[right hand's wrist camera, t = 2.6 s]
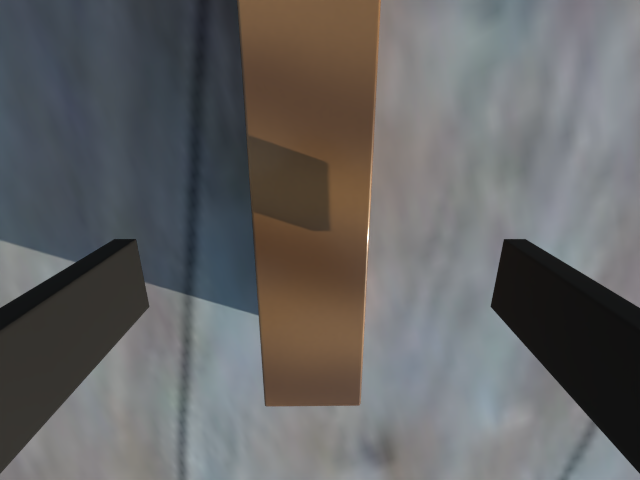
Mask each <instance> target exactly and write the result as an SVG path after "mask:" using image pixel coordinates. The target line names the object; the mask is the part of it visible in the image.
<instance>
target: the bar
mask: <svg viewBox="0 0 640 480" xmlns="http://www.w3.org/2000/svg"><path fill="white" fill-rule="evenodd" d="M380 4H381V0H237V5H238V19H239V34H240V49H241V63H242V78H243V92H244V107H245V122H246V136H247V151H248V165H249V180H250V195H251V209H252V224H253V238H254V253H255V268H256V282H257V297H258V312H259V326H260V341H261V355H262V370H263V385H264V399H265V406H355V405H360V403H361V384H362V364H363V344H364V324H365V304H366V284H367V264H368V244H369V224H370V204H371V184H372V164H373V144H374V124H375V104H376V84H377V64H378V44H379V24H380Z"/></svg>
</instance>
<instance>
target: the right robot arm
mask: <svg viewBox="0 0 640 480" xmlns="http://www.w3.org/2000/svg"><path fill="white" fill-rule="evenodd" d="M148 308H149V303H148V298H147V292H146V287H145V282H144V277H143V272H142V267H141V262H140V257H139V252H138V247H137V242H136V239H114V240H112V241H111V242H109V243H107V244H106V245H104V246H102V247H101V248H99V249H97V250H96V251H94V252H93V253H91V254H89V255H88V256H86V257H84V258H83V259H81V260H79V261H78V262H76V263H74V264H73V265H71V266H69V267H68V268H66V269H64V270H63V271H61V272H59V273H58V274H56V275H54V276H53V277H51V278H49V279H48V280H46V281H44V282H43V283H41V284H39V285H38V286H36V287H34V288H33V289H31V290H29V291H28V292H26V293H24V294H23V295H21V296H19V297H18V298H16V299H14V300H13V301H11V302H10V303H8V304H6V305H5V306H3V307H1V308H0V473H1V472H2V471H3V470H4V469H5V468H6V467H7V465H8V464H9V463H10V462H11V461H12V460H13V459H14V458H15V457H16V455H17V454H18V453H19V452H20V451H21V450H22V449H23V448H24V446H25V445H26V444H27V443H28V442H29V441H30V440H31V439H32V437H33V436H34V435H35V434H36V433H37V432H38V431H39V430H40V429H41V427H42V426H43V425H44V424H45V423H46V422H47V421H48V420H49V418H50V417H51V416H52V415H53V414H54V413H55V412H56V411H57V409H58V408H59V407H60V406H61V405H62V404H63V403H64V402H65V401H66V399H67V398H68V397H69V396H70V395H71V394H72V393H73V392H74V390H75V389H76V388H77V387H78V386H79V385H80V384H81V383H82V381H83V380H84V379H85V378H86V377H87V376H88V375H89V374H90V373H91V371H92V370H93V369H94V368H95V367H96V366H97V365H98V364H99V362H100V361H101V360H102V359H103V358H104V357H105V356H106V355H107V353H108V352H109V351H110V350H111V349H112V348H113V347H114V346H115V345H116V343H117V342H118V341H119V340H120V339H121V338H122V337H123V336H124V334H125V333H126V332H127V331H128V330H129V329H130V328H131V327H132V325H133V324H134V323H135V322H136V321H137V320H138V319H139V318H140V317H141V315H142V314H143V313H144V312H145V311H146V310H147V309H148ZM491 308H492V309H493V310H494V311H495V312H496V313H497V314H498V315H499V317H500V318H501V319H502V320H503V321H504V322H505V323H506V324H507V325H508V327H509V328H510V329H511V330H512V331H513V332H514V333H515V334H516V336H517V337H518V338H519V339H520V340H521V341H522V342H523V343H524V345H525V346H526V347H527V348H528V349H529V350H530V351H531V352H532V353H533V355H534V356H535V357H536V358H537V359H538V360H539V361H540V362H541V364H542V365H543V366H544V367H545V368H546V369H547V370H548V371H549V373H550V374H551V375H552V376H553V377H554V378H555V379H556V380H557V381H558V383H559V384H560V385H561V386H562V387H563V388H564V389H565V390H566V392H567V393H568V394H569V395H570V396H571V397H572V398H573V399H574V401H575V402H576V403H577V404H578V405H579V406H580V407H581V408H582V409H583V411H584V412H585V413H586V414H587V415H588V416H589V417H590V418H591V420H592V421H593V422H594V423H595V424H596V425H597V426H598V427H599V429H600V430H601V431H602V432H603V433H604V434H605V435H606V436H607V437H608V439H609V440H610V441H611V442H612V443H613V444H614V445H615V446H616V448H617V449H618V450H619V451H620V452H621V453H622V454H623V455H624V457H625V458H626V459H627V460H628V461H629V462H630V463H631V464H632V465H633V467H634V468H635V469H636V470H637V471H638V472H639V473H640V308H639V307H637V306H635V305H634V304H632V303H631V302H629V301H627V300H626V299H624V298H622V297H621V296H619V295H617V294H616V293H614V292H612V291H611V290H609V289H607V288H606V287H604V286H602V285H601V284H599V283H597V282H596V281H594V280H592V279H591V278H589V277H587V276H586V275H584V274H582V273H581V272H579V271H577V270H576V269H574V268H572V267H571V266H569V265H567V264H566V263H564V262H562V261H561V260H559V259H557V258H556V257H554V256H552V255H551V254H549V253H547V252H546V251H544V250H543V249H541V248H539V247H538V246H536V245H534V244H533V243H531V242H529V241H528V240H526V239H504V242H503V247H502V252H501V257H500V262H499V267H498V272H497V277H496V282H495V287H494V292H493V298H492V303H491Z"/></svg>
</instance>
